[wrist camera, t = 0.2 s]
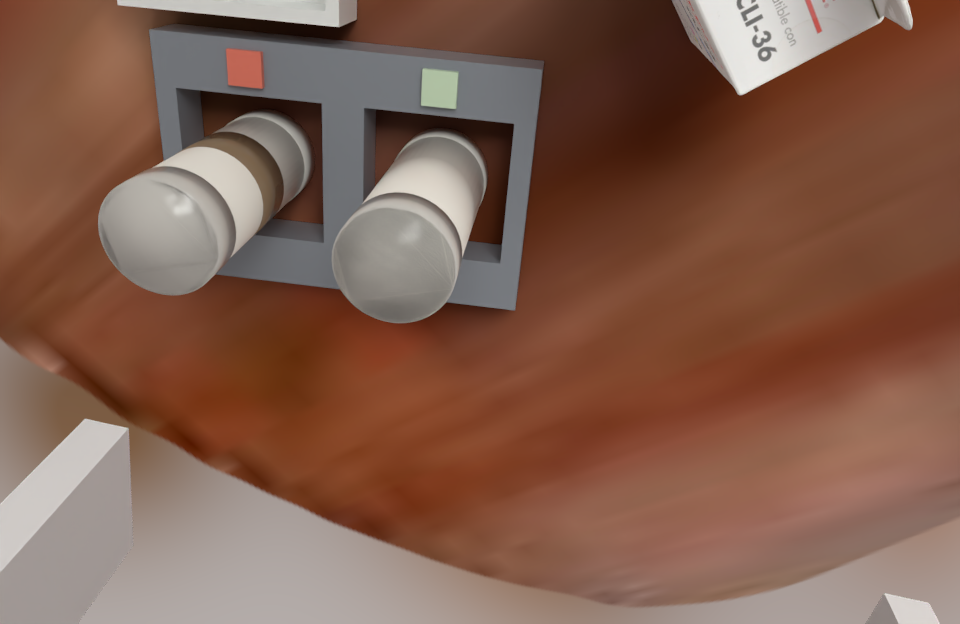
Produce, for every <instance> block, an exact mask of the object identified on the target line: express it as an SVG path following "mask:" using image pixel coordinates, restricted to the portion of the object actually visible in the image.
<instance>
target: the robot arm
mask: <svg viewBox="0 0 960 624" xmlns="http://www.w3.org/2000/svg"><path fill="white" fill-rule="evenodd" d="M131 502H132V501H131V475H130V449H129V428H125V427H121V426H116V425H112V424H107V423H102V422H98V421H93V420H89V419H84V420H83V421H82V422H81V423H80V424H79V425H78V426H77V428H75V429H74V430H73V431H72V432H71V433H70V434H69V435H68V436H67V437H66V438H65V439H64V440H63V441H62V442H61V443H60V444H59V445H58V446H57V447H56V448H55V450H54V451H52V452H51V453H50V454H49V456H47V458H46V459H44V461H42V462H41V463H40V464H39V465H38V466H37V467H36V468H35V469H34V471H32V472H31V473H30V474H29V475H28V476H27V477H26V479H24V481H22V482H21V484H19V486H17V487H16V488H15V489H14V490H13V492H11V493H10V495H8V497H7V498H6V499H5V500H4V501H3V502H2V503H1V504H0V624H78V622H79V621H80V620H81V618H82V617H83V615H84V614H85V613H86V611H87V610H88V608H89V607H90V606H91V604H92V603H93V601H94V600H95V598H96V597H97V596H98V594H99V593H100V592H101V590H102V589H103V587H104V586H105V585H106V583H107V581H108V580H109V579H110V578H111V576H112V575H113V573H114V572H115V571H116V569H117V568H118V566H119V565H120V564H121V562H122V560H123V559H124V558H125V557H126V555H127V554H128V552H129V551H130V550H131V548H132V547H133V527H132V503H131ZM866 624H940V623H939V621H938V619H937V618H936V616H935V614H934V612H933V610H932V608H931V606H930V604H929V603H927V602H922V601H918V600H913V599H908V598H904V597H899V596H894V595H890V594H886V593H884V595H883V596H882V598H881V599H880V601H879V602H878V604H877V606H876V608H875V609H874V611H873V612H872V614H871V616H870V617H869V619H868V620H867V622H866Z"/></svg>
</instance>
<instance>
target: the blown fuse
mask: <svg viewBox="0 0 960 624" xmlns="http://www.w3.org/2000/svg"><path fill="white" fill-rule="evenodd" d="M314 168H315V153H314V148H313V145H312V142H311V140H310V138H309V136H308V135H307V133H306V131H305V130H304V129H303V128H302V126H301V125H300V124H299V123H298V122H296V121H295V120H294V119H293V118H291V117H290V116H288V115H286V114H284V113H282V112H279V111H276V110H271V109H256V110H252V111H250V112H247V113H245V114H243V115H242V116H240V117H238V118H236V119H235V120H233V121H231V122H230V123H228V124H227V125H226V126H225V127H223V128H221V129H219V130H218V131H216V132H214V133H212V134H210V135H208V136H206V137H204V138H203V139H201V140H199V141H197V142H195V143H194V144H192V145H190V146H188V147H187V148H185V149H183V150H181V151H180V152H178V153H176V154H175V155H174V156H172V157H170V158H168V159H167V160H165V161H163V162H161V163H160V164H158V165H156V166H154V167H153V168H150V169H147V170H145V171H143V172H141V173H139V174H137V175H136V176H134V177H132V178H130V179H129V180H127V181H125V182H123V183H122V184H120V185H118V186H117V187H115V188H114V189H113V190H112V191H110V193H109V194H108V195H107V196H106V198H105V199H104V201H103V203H102V205H101V208H100V211H99V217H98V229H99V235H100V239H101V242H102V245H103V248H104V250H105V252H106V254H107V255H108V257H109V259H110V260H111V262H112V263H113V264H114V265H115V267H116V268H117V269H118V270H119V271H120V272H121V273H122V274H123V275H124V276H125V277H127V278H128V279H129V280H130V281H132V282H133V283H135V284H136V285H138V286H140V287H142V288H144V289H146V290H149V291H151V292H155V293H158V294H164V295H182V294H187V293H190V292H193V291H195V290H197V289H199V288H201V287H202V286H203V285H205V284H206V283H207V282H208V281H209V280H210V279H211V278H212V277H213V276H214V275H215V274H216V273H217V272H218V271H219V270H220V269H221V268H222V267H223V266H224V265H225V264H226V263H227V262H228V260H229V259H230V258H231V257H232V256H233V255H234V254H235V253H236V252H237V251H238V250H239V249H240V248H241V247H242V246H243V245H244V244H245V243H246V242H247V241H249V240H250V239H251V238H252V237H253V236H254V235H255V234H256V233H257V232H258V231H259V230H260V229H262V228H263V227H264V226H265V225H266V224H267V223H268V222H269V221H270V220H271V219H272V218H273V217H274V216H275V215H276V213H277V212H278V211H279V210H281V209H282V208H283V207H284V206H285V205H286V204H287V203H288V202H290V201H291V200H292V199H293V198H294V197H295V196H296V195H298V194H299V193H300V192H301V191H302V190H303V189H304V188H305V187H306V186H307V184H308V183H309V181H310V180H311V178H312V175H313V172H314Z"/></svg>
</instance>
